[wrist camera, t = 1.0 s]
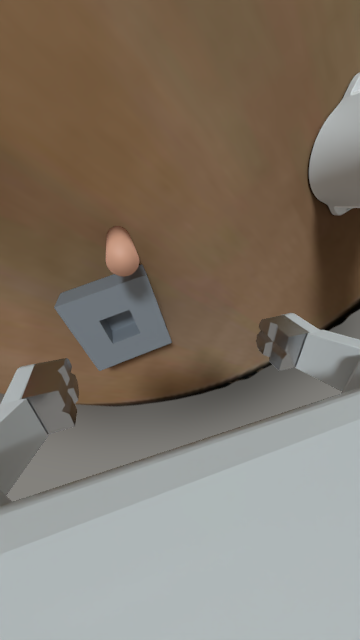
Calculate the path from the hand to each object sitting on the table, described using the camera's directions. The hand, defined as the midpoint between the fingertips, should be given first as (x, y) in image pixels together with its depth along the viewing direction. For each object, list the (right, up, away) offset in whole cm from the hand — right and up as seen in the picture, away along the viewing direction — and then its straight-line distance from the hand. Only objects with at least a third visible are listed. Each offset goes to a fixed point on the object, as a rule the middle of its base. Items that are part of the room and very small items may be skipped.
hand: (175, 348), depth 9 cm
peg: (-9, +14, +24) cm, 29 cm away
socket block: (-11, +3, +30) cm, 32 cm away
